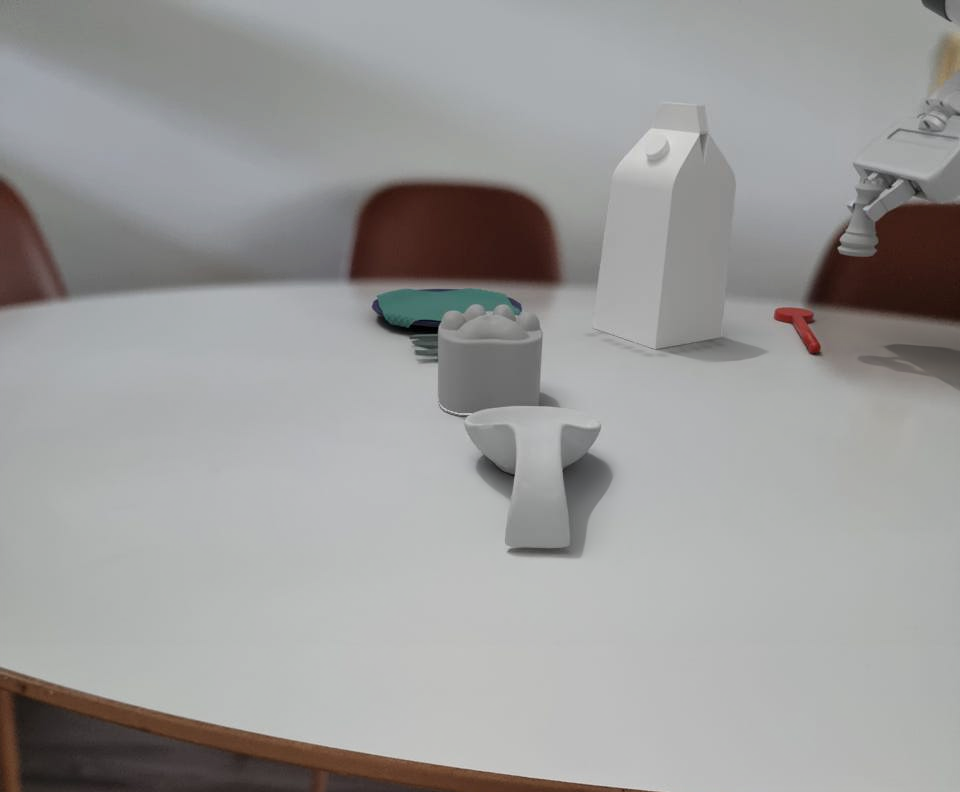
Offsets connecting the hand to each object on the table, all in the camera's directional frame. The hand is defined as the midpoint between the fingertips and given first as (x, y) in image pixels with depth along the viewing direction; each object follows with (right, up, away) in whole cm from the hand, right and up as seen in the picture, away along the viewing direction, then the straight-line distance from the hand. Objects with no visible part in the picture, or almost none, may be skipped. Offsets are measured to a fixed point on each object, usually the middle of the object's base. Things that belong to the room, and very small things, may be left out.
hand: (859, 213), depth 112 cm
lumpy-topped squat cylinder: (-43, -24, -10) cm, 50 cm away
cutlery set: (-47, -9, +13) cm, 50 cm away
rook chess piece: (0, -4, +2) cm, 5 cm away
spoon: (-2, -9, +15) cm, 18 cm away
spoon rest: (-39, -37, -32) cm, 62 cm away
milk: (-21, -10, +14) cm, 27 cm away
